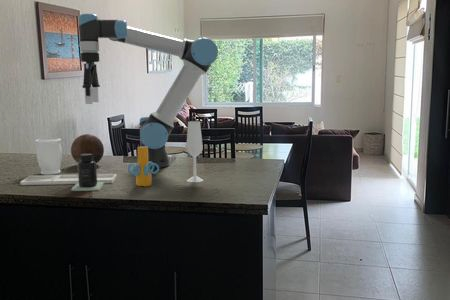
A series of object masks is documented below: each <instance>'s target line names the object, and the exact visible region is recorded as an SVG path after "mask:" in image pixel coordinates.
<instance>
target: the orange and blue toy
mask: <svg viewBox="0 0 450 300" xmlns="http://www.w3.org/2000/svg"><path fill="white" fill-rule="evenodd" d="M137 161H138V165H137V164H136V163H133V162H132V163H129V165H128V166H127V172H128V173H129V174H131V175H133V176H135V185H136V186H137V187H141V186H144V187H149V186H152V182H153V181H152V174H153V175H156V174H157V173H159V171H160V168H159V166H158V165H157V164H155V163H153V162H148V147H147V146H140V145H139V146H137ZM150 163H151V164H150ZM149 164H150V165H149ZM154 165H155V166H156V167H157V168H156V170H155V171H154V169H155V168H154ZM132 166H133V167H132ZM151 166H152V168H150V167H151ZM131 167H132V169H130V168H131Z"/></svg>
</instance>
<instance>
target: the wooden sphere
mask: <svg viewBox="0 0 450 300" xmlns="http://www.w3.org/2000/svg"><path fill="white" fill-rule="evenodd" d="M104 152H105V147H104V145H103V142H102V141H101V139H100V138H99V137H97V136H95V135H94V134H90V133H89V134H88V133H86V134H82V135H79V136H77V137H76V138H75V139H74V140H73V142H72V144H71V147H70V153H71V157H72V158H73V160H74V161H75V162H76V163H77V164H78V163H79V162H80V161H81V160H80V155H81V154H93V161H95V162H96V164H98V163H99V162H100V161H101V160H102V158H103V156H104Z"/></svg>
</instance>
